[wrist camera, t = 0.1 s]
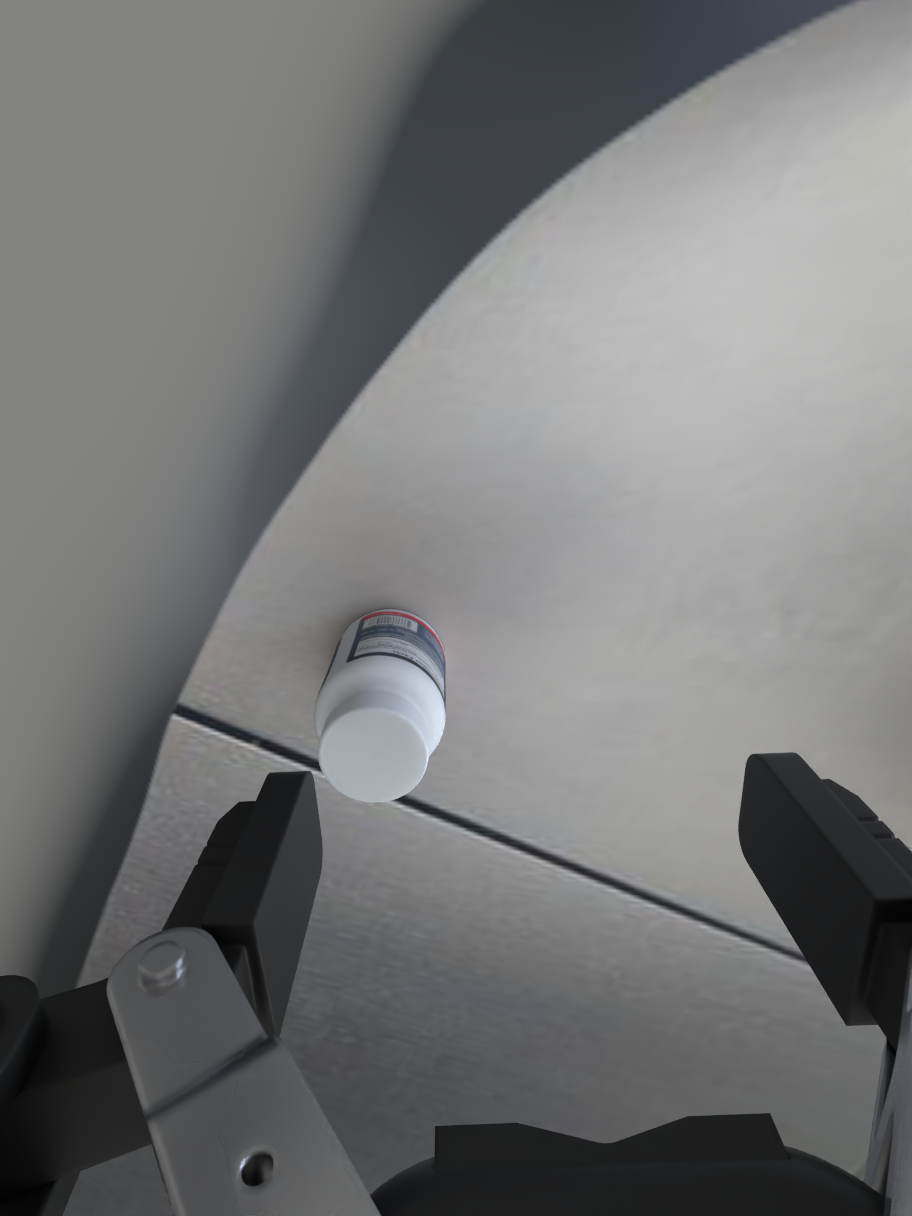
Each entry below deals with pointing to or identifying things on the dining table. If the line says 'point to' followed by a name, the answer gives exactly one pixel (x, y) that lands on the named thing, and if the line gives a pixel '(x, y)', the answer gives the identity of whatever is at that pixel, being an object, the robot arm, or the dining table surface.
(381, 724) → the pill bottle
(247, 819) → the robot arm
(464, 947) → the dining table surface
